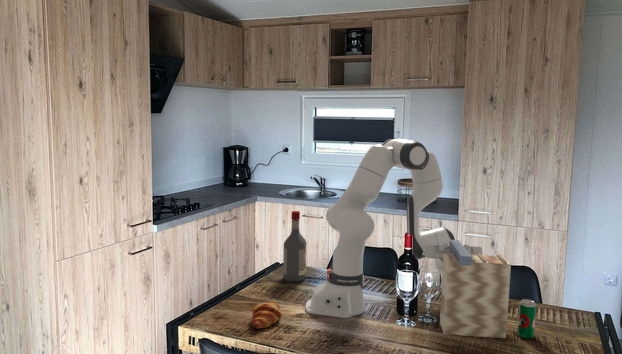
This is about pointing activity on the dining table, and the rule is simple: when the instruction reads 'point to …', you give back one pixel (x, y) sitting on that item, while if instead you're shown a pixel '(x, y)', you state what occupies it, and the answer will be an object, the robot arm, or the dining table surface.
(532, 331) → the soda can
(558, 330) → the dining table surface
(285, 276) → the liquor
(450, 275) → the zigzag patterned box
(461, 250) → the beam
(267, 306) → the croissant
